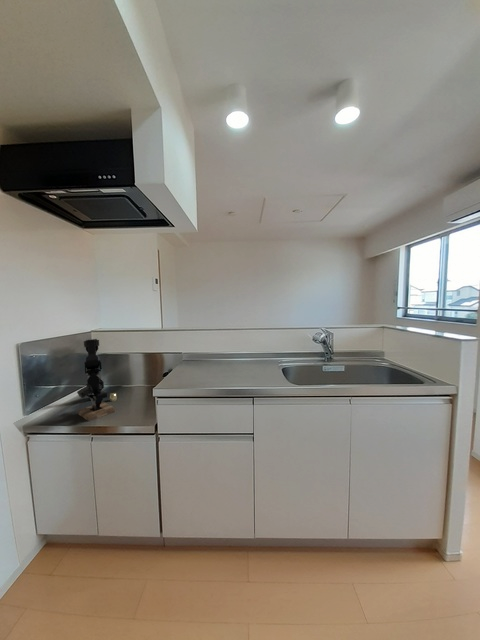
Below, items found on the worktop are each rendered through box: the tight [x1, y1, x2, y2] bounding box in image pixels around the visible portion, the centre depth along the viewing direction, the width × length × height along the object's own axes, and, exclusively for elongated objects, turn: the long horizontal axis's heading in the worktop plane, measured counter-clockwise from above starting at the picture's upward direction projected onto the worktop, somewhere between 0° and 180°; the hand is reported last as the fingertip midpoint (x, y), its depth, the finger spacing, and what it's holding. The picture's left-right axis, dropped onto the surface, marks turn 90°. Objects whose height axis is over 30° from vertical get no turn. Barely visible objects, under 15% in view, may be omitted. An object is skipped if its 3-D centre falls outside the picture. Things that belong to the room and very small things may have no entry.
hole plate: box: [77, 401, 115, 422], centre depth 150 cm, size 14×14×2 cm
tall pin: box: [90, 397, 100, 412], centre depth 149 cm, size 4×4×8 cm
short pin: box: [108, 392, 118, 402], centre depth 168 cm, size 4×4×4 cm
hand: (96, 407), depth 149 cm, fingers closed on tall pin, 4 cm apart
